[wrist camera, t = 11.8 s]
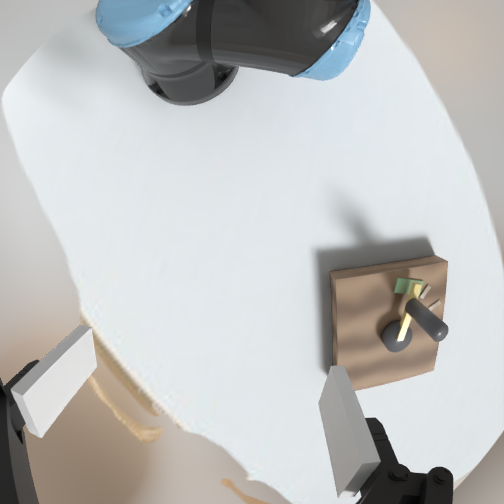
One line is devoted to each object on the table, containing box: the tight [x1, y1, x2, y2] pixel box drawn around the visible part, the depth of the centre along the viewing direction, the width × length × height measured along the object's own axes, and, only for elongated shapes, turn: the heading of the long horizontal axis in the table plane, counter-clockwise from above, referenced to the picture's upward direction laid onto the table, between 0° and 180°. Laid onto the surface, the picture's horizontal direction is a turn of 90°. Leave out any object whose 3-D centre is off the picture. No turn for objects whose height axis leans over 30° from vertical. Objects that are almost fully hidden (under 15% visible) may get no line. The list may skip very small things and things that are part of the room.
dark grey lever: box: [381, 282, 448, 352], centre depth 37 cm, size 5×12×11 cm, turn 172°
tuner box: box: [330, 256, 448, 391], centre depth 45 cm, size 22×20×4 cm
